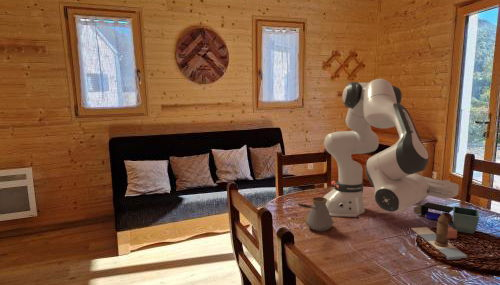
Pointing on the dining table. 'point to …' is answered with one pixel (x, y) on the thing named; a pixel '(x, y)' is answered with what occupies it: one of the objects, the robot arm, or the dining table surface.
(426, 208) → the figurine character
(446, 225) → the pawn
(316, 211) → the coffee pot
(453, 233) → the salmon red cube
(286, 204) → the dining table surface
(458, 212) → the flower pot
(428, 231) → the track
